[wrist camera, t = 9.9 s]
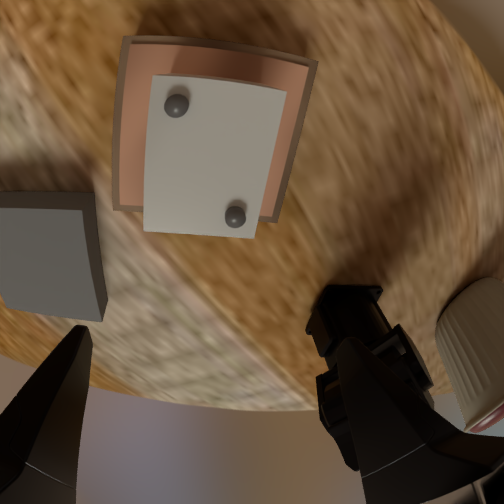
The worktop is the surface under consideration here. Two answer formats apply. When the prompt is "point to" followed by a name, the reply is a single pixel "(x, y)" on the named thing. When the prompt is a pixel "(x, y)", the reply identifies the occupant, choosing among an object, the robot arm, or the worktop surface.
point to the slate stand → (51, 254)
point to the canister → (475, 351)
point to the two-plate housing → (208, 153)
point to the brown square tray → (208, 64)
